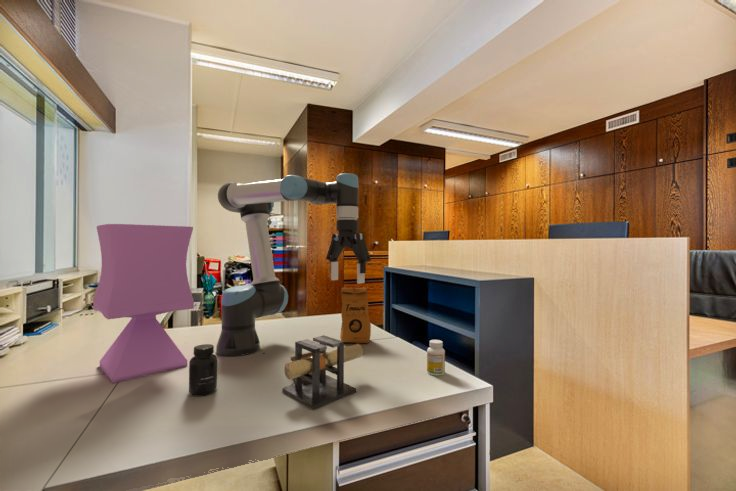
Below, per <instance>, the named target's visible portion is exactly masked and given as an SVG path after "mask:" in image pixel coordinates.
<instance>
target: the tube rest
mask: <svg viewBox="0 0 736 491" xmlns="http://www.w3.org/2000/svg"><path fill="white" fill-rule="evenodd" d="M311 356H312V352H310V351H307V352H302V359H304V358H308V357H311ZM290 361H291V362H293V361H295V355H292V356H290ZM310 375H312V373H310ZM294 380H295V378H294ZM302 381H305V380H304V379H302Z"/></svg>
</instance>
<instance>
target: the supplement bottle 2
mask: <svg viewBox="0 0 736 491" xmlns="http://www.w3.org/2000/svg"><path fill="white" fill-rule="evenodd" d="M443 343H444V342H443V341H442V340H440V339H431V340H429V347H427V350H426V371H427V373H428V374H429V375H431V376H434V377H435V376H436V377H437V376H438V377H439V376H443V375H445V374H446V373H445V372H446V368H445V367H446V363H445V362H446V350H445V349H444V348H443V346H444V344H443Z"/></svg>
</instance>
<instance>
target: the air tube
mask: <svg viewBox="0 0 736 491" xmlns="http://www.w3.org/2000/svg"><path fill="white" fill-rule="evenodd" d="M363 355H364V349H363V347H362V345H361V343H354V344H351V345H348V346H344V363H347V362H349V361H354V360H356V359H359V358H361V357H363ZM331 366H333V367H335V366H337V349H333V350H330V351H326V353H322V354H320V370H323V369H325V368H328V367H331ZM283 371H284V374H285V376H284V377H285V378H286V379H287V380H289V381H290V380H293V379H294V378H297V377H300V376H303V375H306V374H310V373H312V356H311V357H308V358H304V359H301V360H297V361H293V362H292V361H291V362H287V363H285V364H284V369H283ZM294 380H295V379H294Z"/></svg>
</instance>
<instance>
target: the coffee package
mask: <svg viewBox="0 0 736 491" xmlns="http://www.w3.org/2000/svg"><path fill="white" fill-rule="evenodd" d="M340 292H341V303H342V304H341V305H342V307H341V314H340V315H341V327H340V337H339V338H340V341H343V342H344V343H349V344H350V343H351V344H352V343H353V344H369V341H370V339H371V333H372V329H371V328H372V326H371V320H370V317H369V298H368V296H369V295H368V287H355V288H354V287H341V290H340Z"/></svg>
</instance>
